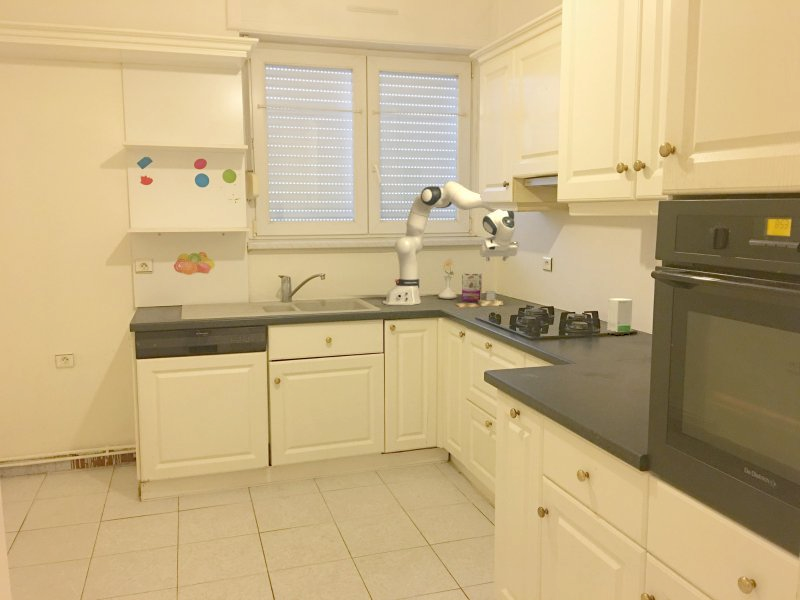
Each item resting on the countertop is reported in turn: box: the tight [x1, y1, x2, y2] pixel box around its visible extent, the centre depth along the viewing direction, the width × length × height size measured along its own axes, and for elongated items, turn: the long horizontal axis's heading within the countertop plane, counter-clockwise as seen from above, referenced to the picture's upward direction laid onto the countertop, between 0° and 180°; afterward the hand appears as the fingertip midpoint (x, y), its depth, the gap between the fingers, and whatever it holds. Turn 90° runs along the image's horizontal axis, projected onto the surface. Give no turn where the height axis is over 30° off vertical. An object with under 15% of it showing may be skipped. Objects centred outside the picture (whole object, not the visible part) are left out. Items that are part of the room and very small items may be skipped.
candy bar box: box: [461, 273, 483, 302], centre depth 399 cm, size 11×5×16 cm, turn 73°
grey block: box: [484, 290, 496, 301], centre depth 382 cm, size 5×2×8 cm, turn 99°
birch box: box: [477, 299, 504, 307], centre depth 382 cm, size 13×7×2 cm, turn 98°
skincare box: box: [606, 297, 633, 332], centre depth 289 cm, size 8×7×16 cm
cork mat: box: [454, 302, 481, 308], centre depth 379 cm, size 12×12×1 cm
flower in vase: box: [438, 258, 458, 300], centre depth 408 cm, size 13×11×25 cm
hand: (495, 260), depth 365 cm, fingers open, 8 cm apart
